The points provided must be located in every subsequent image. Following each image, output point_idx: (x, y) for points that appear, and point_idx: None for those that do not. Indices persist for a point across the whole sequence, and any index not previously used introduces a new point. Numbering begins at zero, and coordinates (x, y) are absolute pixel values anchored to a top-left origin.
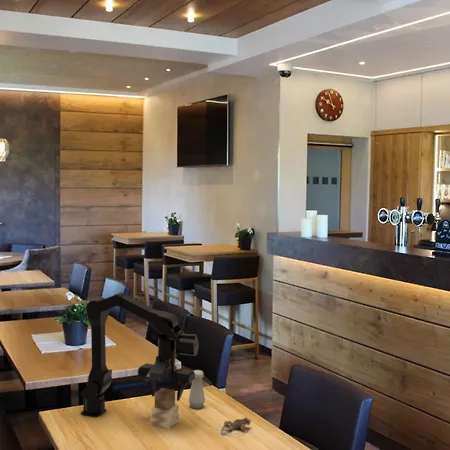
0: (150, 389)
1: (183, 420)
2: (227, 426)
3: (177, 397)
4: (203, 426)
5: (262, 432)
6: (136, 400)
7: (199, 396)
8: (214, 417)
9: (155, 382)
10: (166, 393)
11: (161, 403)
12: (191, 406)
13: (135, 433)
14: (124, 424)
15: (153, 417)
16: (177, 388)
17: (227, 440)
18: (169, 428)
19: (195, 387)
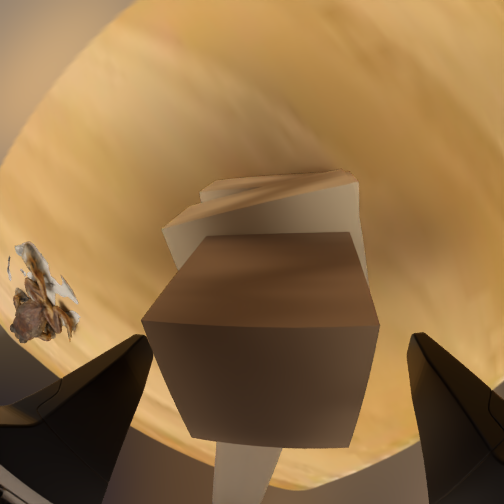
0: (465, 375)
1: None
2: (34, 291)
3: (121, 351)
4: (110, 283)
5: (6, 307)
6: (493, 373)
7: (220, 451)
8: None
9: (429, 478)
10: (206, 365)
11: (268, 257)
12: None
13: (354, 25)
14: (477, 117)
15: (327, 172)
16: (55, 410)
17: (6, 215)
18: (215, 181)
19: (232, 485)
